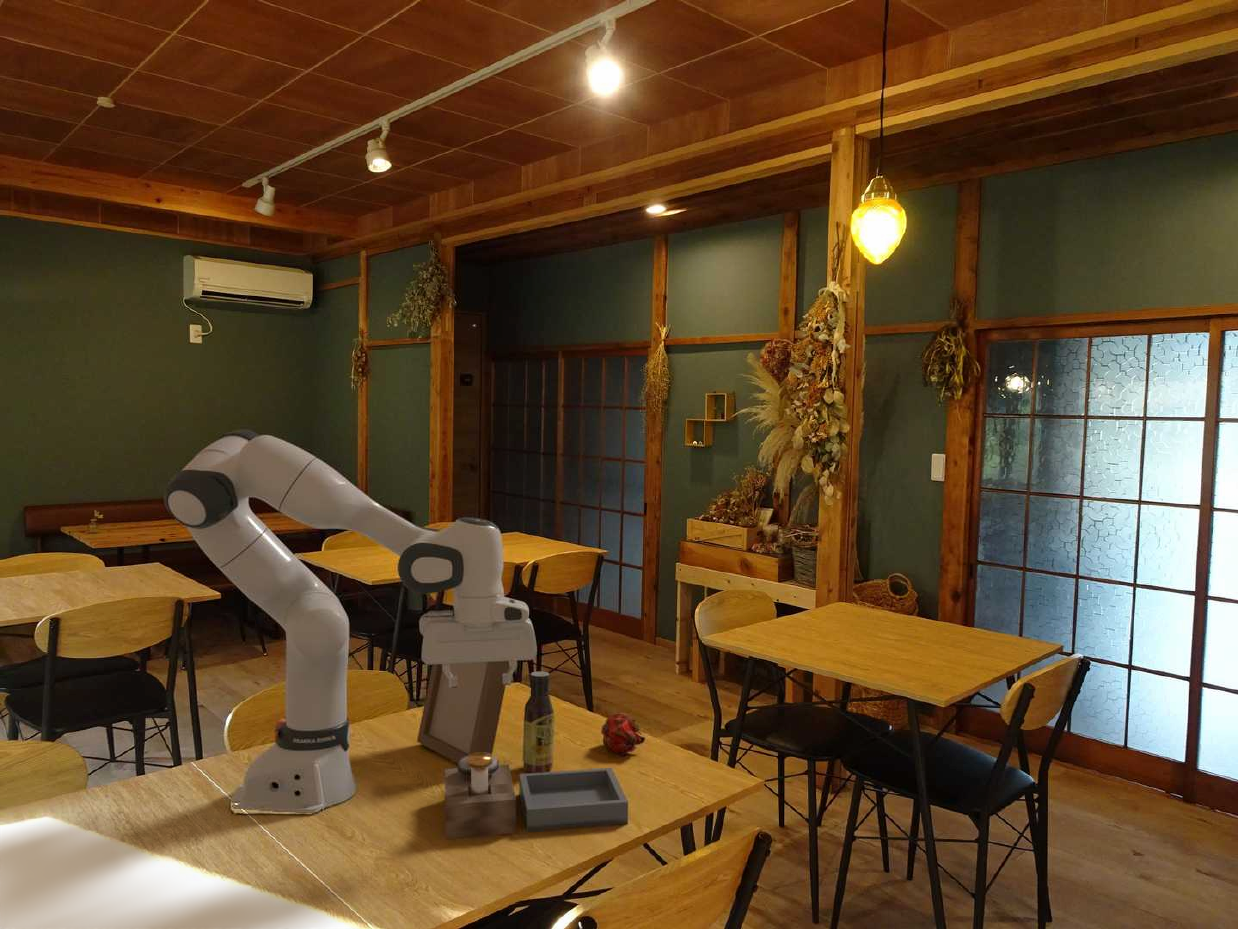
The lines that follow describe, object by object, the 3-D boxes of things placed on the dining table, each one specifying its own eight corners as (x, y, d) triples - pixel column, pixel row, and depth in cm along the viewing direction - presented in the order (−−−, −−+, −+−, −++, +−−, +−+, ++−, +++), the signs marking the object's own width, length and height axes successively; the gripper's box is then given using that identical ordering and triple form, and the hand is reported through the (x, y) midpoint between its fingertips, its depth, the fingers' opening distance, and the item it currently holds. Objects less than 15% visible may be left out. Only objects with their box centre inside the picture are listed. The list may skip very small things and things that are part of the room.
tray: (527, 832, 158) (527, 809, 158) (519, 794, 174) (519, 774, 174) (627, 824, 162) (628, 802, 162) (611, 787, 178) (611, 767, 177)
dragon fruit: (613, 746, 204) (633, 773, 193) (585, 729, 201) (604, 756, 190) (635, 715, 205) (657, 741, 194) (608, 698, 201) (628, 723, 190)
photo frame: (471, 775, 183) (472, 653, 182) (416, 746, 199) (417, 633, 198) (530, 758, 193) (531, 642, 192) (473, 731, 209) (474, 624, 208)
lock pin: (467, 829, 159) (467, 761, 158) (466, 819, 163) (466, 752, 163) (492, 827, 160) (492, 760, 159) (491, 817, 164) (491, 751, 164)
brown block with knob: (445, 839, 156) (445, 790, 155) (445, 800, 171) (445, 755, 171) (515, 833, 158) (515, 785, 157) (508, 795, 174) (508, 751, 173)
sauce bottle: (539, 777, 182) (539, 680, 181) (516, 770, 186) (516, 674, 185) (560, 767, 187) (560, 673, 186) (537, 760, 191) (538, 667, 190)
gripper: (417, 615, 156) (419, 694, 156) (537, 610, 159) (537, 688, 160) (420, 607, 162) (421, 683, 163) (534, 603, 165) (535, 677, 166)
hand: (480, 685), depth 161 cm, fingers open, 8 cm apart
